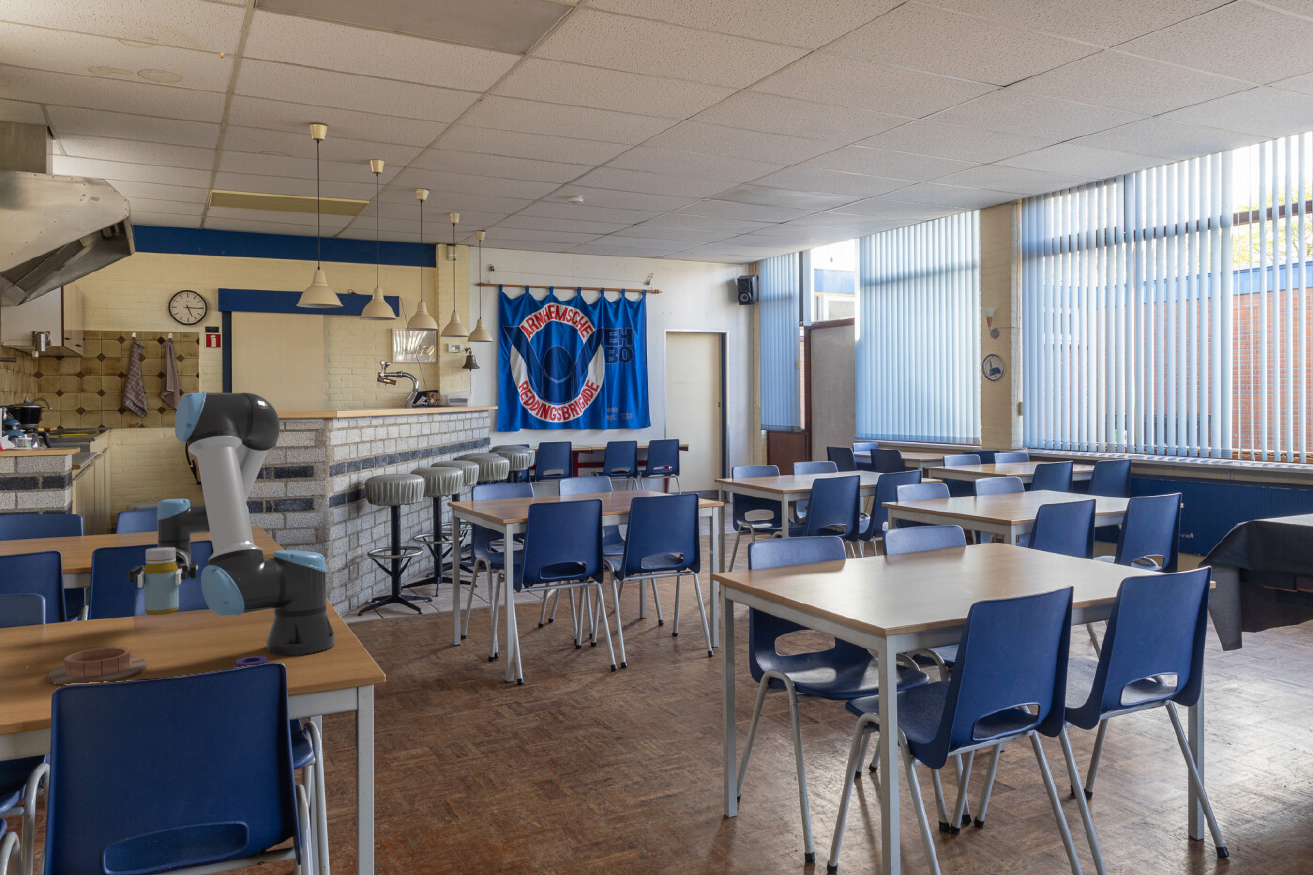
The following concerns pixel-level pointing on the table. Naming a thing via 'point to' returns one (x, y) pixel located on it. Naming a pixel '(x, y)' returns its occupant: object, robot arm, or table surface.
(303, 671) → the table surface
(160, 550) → the bottle
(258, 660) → the lever
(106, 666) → the bottle holder
